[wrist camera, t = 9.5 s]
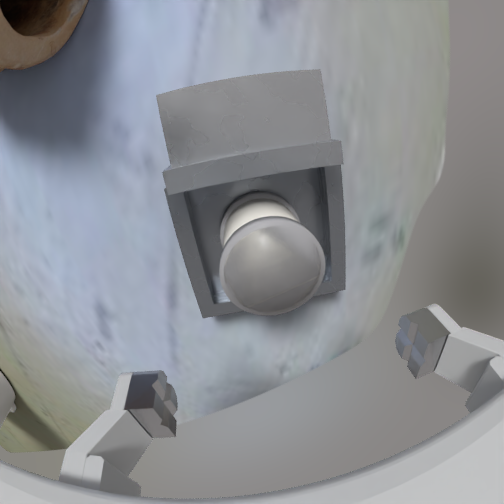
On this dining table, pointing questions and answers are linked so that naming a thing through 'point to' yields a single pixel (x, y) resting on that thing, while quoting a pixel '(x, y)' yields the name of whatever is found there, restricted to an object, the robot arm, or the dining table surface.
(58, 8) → the clay pipe
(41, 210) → the dining table surface
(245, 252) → the white domed knob
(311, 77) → the grey open square box
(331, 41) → the dining table surface
